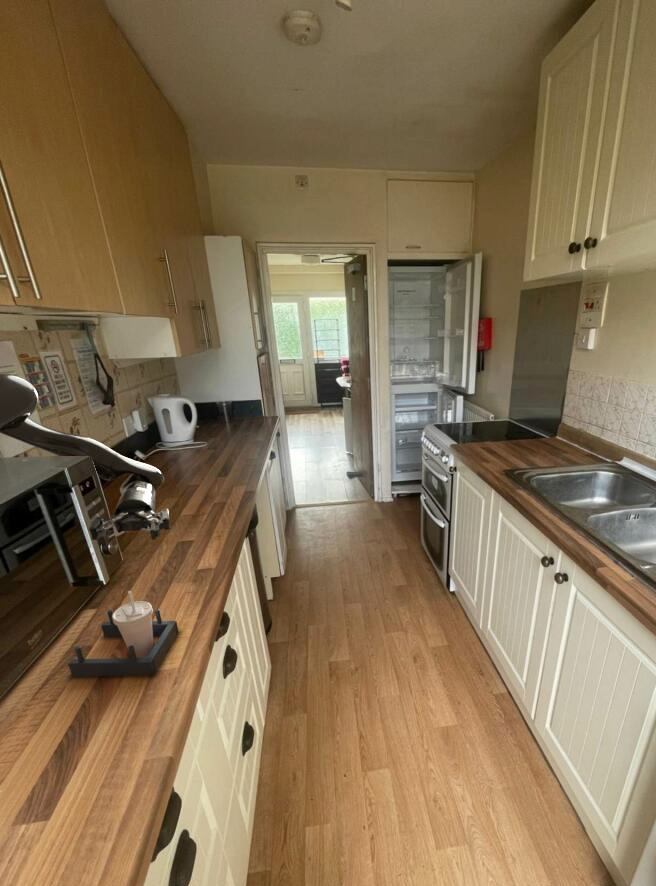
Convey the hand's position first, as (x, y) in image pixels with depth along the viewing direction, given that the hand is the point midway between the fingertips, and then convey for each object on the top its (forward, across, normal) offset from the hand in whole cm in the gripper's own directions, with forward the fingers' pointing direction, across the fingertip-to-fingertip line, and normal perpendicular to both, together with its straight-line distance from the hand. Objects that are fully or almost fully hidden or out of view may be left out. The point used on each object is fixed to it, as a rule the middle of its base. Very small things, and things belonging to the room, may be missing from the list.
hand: (128, 538), depth 83 cm
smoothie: (+11, 0, -19) cm, 22 cm away
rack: (+10, +2, -19) cm, 22 cm away
